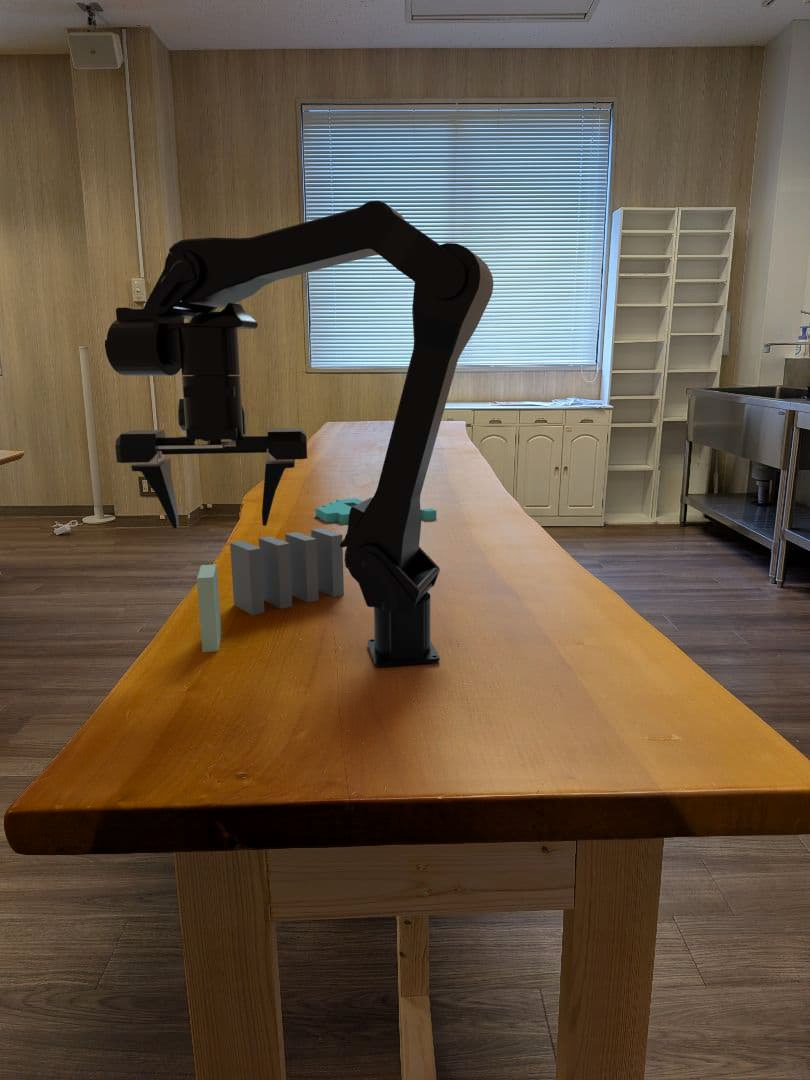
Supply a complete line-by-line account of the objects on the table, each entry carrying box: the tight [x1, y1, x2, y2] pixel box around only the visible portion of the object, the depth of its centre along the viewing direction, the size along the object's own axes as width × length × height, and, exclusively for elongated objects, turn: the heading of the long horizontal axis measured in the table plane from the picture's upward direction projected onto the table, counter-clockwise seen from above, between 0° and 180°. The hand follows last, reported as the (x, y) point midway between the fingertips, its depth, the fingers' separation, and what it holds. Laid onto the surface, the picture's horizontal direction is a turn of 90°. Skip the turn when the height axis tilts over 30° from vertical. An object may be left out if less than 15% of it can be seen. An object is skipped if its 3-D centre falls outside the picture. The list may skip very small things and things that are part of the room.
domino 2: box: [258, 535, 293, 610], centre depth 90 cm, size 2×5×8 cm, turn 38°
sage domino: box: [196, 563, 222, 653], centre depth 77 cm, size 2×5×8 cm, turn 10°
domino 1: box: [229, 540, 265, 616], centre depth 88 cm, size 2×5×8 cm, turn 38°
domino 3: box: [284, 531, 320, 604], centre depth 93 cm, size 2×5×8 cm, turn 38°
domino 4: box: [310, 527, 345, 598], centre depth 95 cm, size 2×5×8 cm, turn 38°
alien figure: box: [315, 497, 437, 525], centre depth 145 cm, size 20×2×20 cm
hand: (220, 526), depth 77 cm, fingers open, 9 cm apart
